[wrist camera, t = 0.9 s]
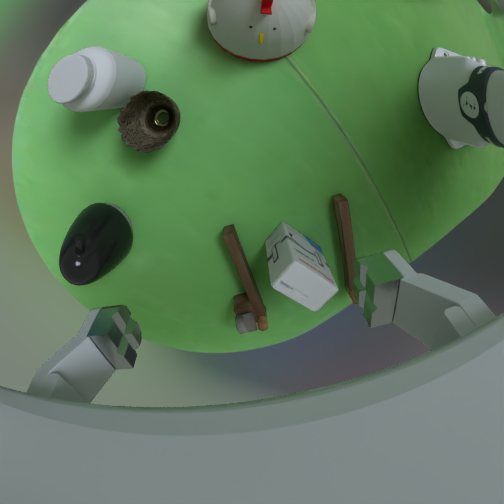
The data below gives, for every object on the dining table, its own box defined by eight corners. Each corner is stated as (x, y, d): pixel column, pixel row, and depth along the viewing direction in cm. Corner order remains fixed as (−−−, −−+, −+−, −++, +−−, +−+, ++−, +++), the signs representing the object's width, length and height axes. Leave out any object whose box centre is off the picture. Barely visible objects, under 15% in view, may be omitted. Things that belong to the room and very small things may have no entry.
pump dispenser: (149, 210, 40) (111, 263, 27) (129, 259, 44) (97, 318, 31) (96, 183, 37) (42, 224, 24) (82, 234, 41) (38, 285, 28)
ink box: (320, 247, 45) (342, 290, 35) (302, 267, 47) (317, 314, 36) (281, 219, 42) (295, 260, 32) (262, 242, 44) (269, 287, 34)
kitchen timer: (205, 60, 29) (183, 33, 16) (212, -18, 22) (199, -69, 9) (307, 66, 30) (346, 46, 17) (310, -10, 23) (344, -55, 10)
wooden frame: (341, 193, 40) (359, 210, 34) (353, 285, 49) (366, 310, 43) (206, 232, 42) (200, 256, 36) (243, 316, 52) (244, 344, 46)
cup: (166, 82, 30) (148, 77, 23) (200, 117, 33) (189, 120, 26) (130, 119, 32) (105, 124, 26) (162, 152, 36) (144, 164, 29)
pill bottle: (149, 102, 32) (99, 103, 19) (101, 113, 31) (39, 125, 18) (147, 52, 27) (98, 30, 15) (98, 66, 27) (36, 58, 14)
